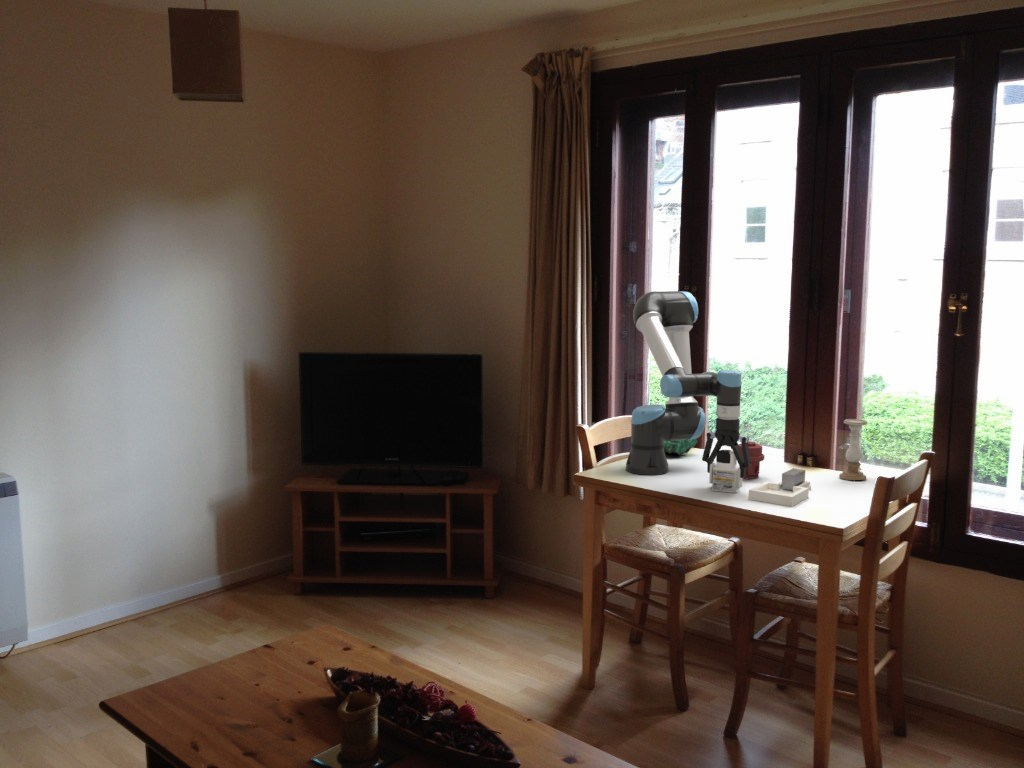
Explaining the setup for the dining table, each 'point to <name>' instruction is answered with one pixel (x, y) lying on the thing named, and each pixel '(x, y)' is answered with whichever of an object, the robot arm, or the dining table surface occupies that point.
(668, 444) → the mineral
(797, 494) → the dock socket
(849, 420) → the candle holder
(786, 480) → the grey rectangular block
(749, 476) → the mechanical component
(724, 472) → the container
